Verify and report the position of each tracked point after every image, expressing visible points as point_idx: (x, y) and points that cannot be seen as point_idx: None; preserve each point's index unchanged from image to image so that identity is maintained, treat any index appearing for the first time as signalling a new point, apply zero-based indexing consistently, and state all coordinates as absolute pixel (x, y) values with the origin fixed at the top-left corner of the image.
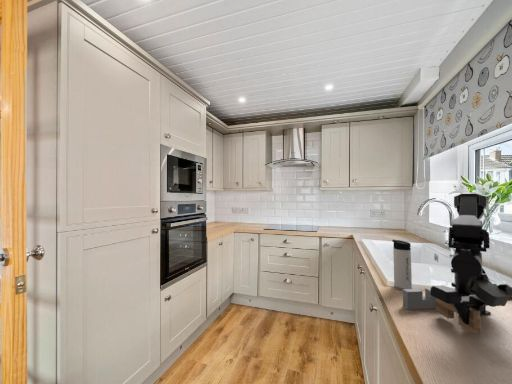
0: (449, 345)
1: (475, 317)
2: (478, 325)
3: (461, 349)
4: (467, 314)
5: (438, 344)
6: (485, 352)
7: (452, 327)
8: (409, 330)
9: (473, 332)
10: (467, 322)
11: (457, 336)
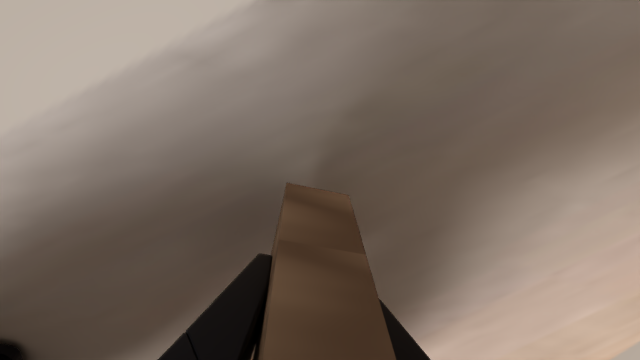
0: (585, 181)
1: (348, 293)
2: (306, 221)
3: (575, 128)
4: (407, 356)
5: (628, 208)
6: (471, 43)
7: None
8: (592, 334)
9: (348, 201)
10: None
11: (415, 227)
